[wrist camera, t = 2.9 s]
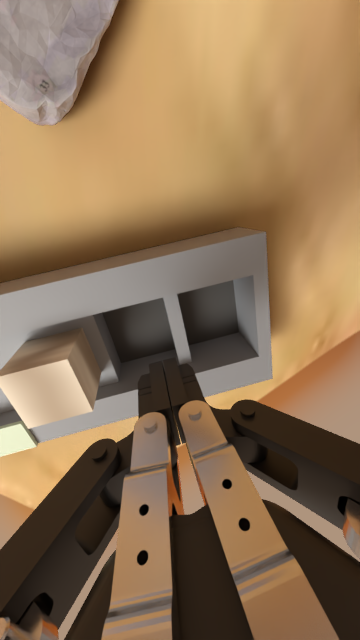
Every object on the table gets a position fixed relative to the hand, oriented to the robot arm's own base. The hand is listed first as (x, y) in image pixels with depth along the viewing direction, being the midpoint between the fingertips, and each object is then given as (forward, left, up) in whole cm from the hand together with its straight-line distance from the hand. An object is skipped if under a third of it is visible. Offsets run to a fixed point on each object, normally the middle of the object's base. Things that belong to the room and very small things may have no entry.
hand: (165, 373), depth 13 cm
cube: (+7, 0, -5) cm, 9 cm away
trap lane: (+5, 0, -8) cm, 10 cm away
